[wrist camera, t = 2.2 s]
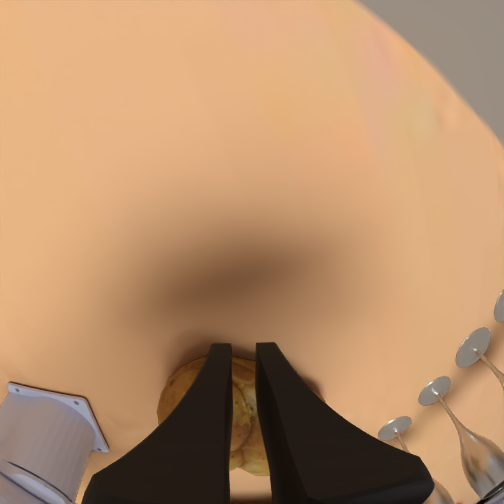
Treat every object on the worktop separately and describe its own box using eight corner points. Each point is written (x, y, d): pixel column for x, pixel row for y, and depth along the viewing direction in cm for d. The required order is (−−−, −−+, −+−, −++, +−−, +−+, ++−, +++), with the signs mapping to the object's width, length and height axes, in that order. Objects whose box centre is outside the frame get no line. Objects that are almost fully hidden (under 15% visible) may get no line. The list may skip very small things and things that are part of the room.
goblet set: (512, 267, 22) (613, 336, 9) (528, 295, 23) (611, 360, 10) (320, 468, 28) (347, 569, 15) (354, 474, 29) (383, 563, 17)
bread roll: (342, 371, 23) (377, 448, 16) (284, 443, 26) (297, 514, 18) (183, 319, 21) (164, 407, 13) (148, 407, 23) (130, 485, 16)
